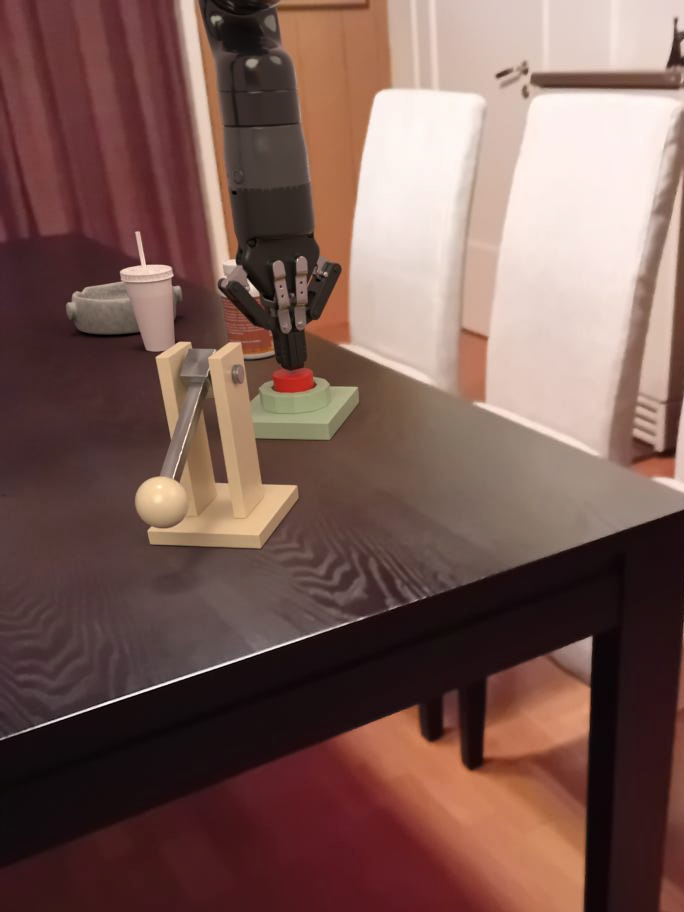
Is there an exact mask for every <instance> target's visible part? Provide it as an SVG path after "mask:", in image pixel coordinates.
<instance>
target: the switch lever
mask: <svg viewBox="0 0 684 912" xmlns="http://www.w3.org/2000/svg"><path fill="white" fill-rule="evenodd" d="M217 351H218V350H217V348H192V349H188V352H187V355H186V358H185V361H184V364H183V367H182V370H181V373H180V378H181V380H182V382H183V384H184V386H185V388H186V390H187V393H186V396H185V399H184V402H183V405H182V408H181V412H180V415H179V418H178V421H177V424H176V427H175V430H174V433H173V436H172V439H171V438H170V443H169V446H168V449H167V452H166V455H165V457H164V461H163V464H162V467H161V471H160V473H159V475H158V476H153V477H150V478H148V479H147V480H145V481H144V482H142V484H140V486H139V487H138V489H136V493H135V496H134V507H135V510H136V513H137V514H138V516H139V518H140V519H141V520H142V522H144V523H145V524H147V525H148V526H150V527H155V528H161V529H166V528H171V527H174V526H176V525H177V524H179V523H180V522H181V521H182V520H183V519H184V518H185V516H186V515H187V512H188V509H189V498H188V495H187V492H186V490H185V489H184V488H183V486H182V485H181V484H180V479H181V476H182V473H183V470H184V467H185V463H186V460H187V457H188V454H189V451H190V447H191V444H192V441H193V438H194V434H195V431H196V428H197V425H198V422H199V418H200V415H201V412H202V409H203V410H204V405H205V402H206V399H215V398H214V392H213V386H212V380H211V374H210V367H209V361H208V358H209V357H210V356H211V355H213V354H214V353H215V352H217Z"/></svg>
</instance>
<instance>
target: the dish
mask: <svg viewBox="0 0 684 912" xmlns="http://www.w3.org/2000/svg"><path fill="white" fill-rule="evenodd" d="M172 299H173V317H174V320H175V319H176V318H177V317H176V316H177V304H178V303H179V304H180V303H182V302H183V291H182V287H181V286H180V285H175V286H173V285H172ZM65 310H66V315H67V318H68V320H70V321H73V322H74V326H75V328H76V329H77V330H78V331H80V332H81V333H86V334H92V335H104V336H105V335H107V336H109V335H110V336H111V335H129V334H137V333H140V330H139V327H138V323H137V320H136V317H135V314H134V311H133V308H132V305H131V302H130V299H129V296H128V293H127V289H126V286H125V283H124V281H122V280H121V281H116V282H111V283H104V284H99V285H91V286H87V287H84V288H83V289H82V291H77V290H76V291H74V292H73V293H72V295H71V301H70V302H69V301H68V302H67V303H66V305H65Z"/></svg>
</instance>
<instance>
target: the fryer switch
mask: <svg viewBox="0 0 684 912" xmlns="http://www.w3.org/2000/svg"><path fill="white" fill-rule="evenodd" d="M188 349H193V346H192V342H191V341H178V342H177V343H175V345H174V346H172V347H171V348H169V349H167V350H165V351H162V352H161V353H160V354H158V355H157V356H155V362H156V368H157V374H158V378H159V383H160V388H161V394H162V399H163V406H164V409H165V414H166V421H167V425H168V430H169V435H170V440H171V439H172V436H173V433H174V430H175V427H176V424H177V421H178V418H179V415H180V412H181V408H182V405H183V402H184V399H185V396H186V393H187V390H186V388H185V386H184V384H183V382H182V380H181V378H180V373H181V370H182V367H183V364H184V361H185V358H186V355H187V352H188ZM208 361H209V367H210V374H211V380H212V386H213V392H214V398H213V399H214V403H215V404H214V405H215V409H216V416H217V422H218V428H219V434H220V441H221V447H222V453H223V459H224V465H225V471H226V477H227V482H216V480H215V475H214V469H213V461H212V456H211V450H210V445H209V439H208V434H207V433H208V432H207V427H206V422H205V416H204V408H203V409H202V412H201V415H200V418H199V422H198V425H197V428H196V431H195V434H194V438H193V441H192V444H191V447H190V451H189V454H188V457H187V460H186V463H185V467H184V470H183V473H182V476H181V479H180V484H181V485H182V486H183V488H184V489H185V490H186V492H187V495H188V498H189V509H188V512H187V515H186V516H185V518H184V519H183V520H182V521H181V522H180V523H179V524H177V525H176V526H174V527H171V528H166V529H161V528H155V527H152V526H150V527H149V528H148V529H147V530H146V532H147V536H148V540H149V541H148V542H149V545H155V546H156V545H158V546H159V545H160V546H180V547H181V546H182V547H184V546H185V547H208V548H211V547H212V548H233V549H236V548H237V549H262V547H264V545H265V544H266V543H267V541H268V540H269V538H270V537H271V536H272V535H273V533H274V532H275V531H276V529H277V528H278V527H279V525H280V524H281V523H282V521H283V520H284V519H285V517H286V516H287V515H288V513H289V512H290V511H291V509H292V508H293V507H294V505H295V504H296V503H297V501H298V500H299V498H300V497H299V488H298V485H297V484H295V485H294V484H265V483H263V484H262V477H261V470H260V461H259V456H258V449H257V442H256V438H255V434H254V427H253V420H252V414H251V407H250V402H251V400H250V393H249V386H248V380H247V379H248V378H247V372H246V365H245V359H243V352H242V345H241V343H240V342H229V343H228V342H227V343H226V344H225V345H224V346H222V347H220V348H219V349H218V350H217V352H215V353H214V354H213V355H211V356H210V357H209V358H208Z"/></svg>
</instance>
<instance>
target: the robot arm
mask: <svg viewBox="0 0 684 912" xmlns="http://www.w3.org/2000/svg"><path fill="white" fill-rule="evenodd" d="M282 1H283V0H197V3H198V7H199V11H200V15H201V19H202V23H203V28H204V32H205V35H206V39H207V42H208V46H209V49H210V53H211V56H212V60H213V65H214V71H215V73H214V74H215V84H216V91H217V92H216V93H217V94H216V95H217V100H218V107H219V114H220V122H221V125H222V127H221V129H222V154H223V163H224V168H225V175H226V183H227V189H228V196H229V203H230V210H231V218H232V224H233V232H234V235H235V238H236V242H237V250H236V252H235V253H236V254H235V258H234V259H235V261H236V265H237V266H236V267H235V269H234V270H233V271H232V272H231V274H230V275H229V276H228V277H227V276H226V277H222V278H220V279H218V281H217V288H218V290H219V291H221V292H222V293H223V294H224V295H225V296H226V297H227V298H228V299H229V300H230V301H231V302H232V303H233V304H234V305H235V306H236V308H237V309H238V310H239V311H240V312H241V313H242V314H243V315H244V316H245V317H246V318H247V319H248V320H249V321H250V322H251V323H252V324H253V325H254V326H256V327H261V328H264V329H266V330H270V331H271V332H272V336H273V343H274V351H275V355H274V358H275V360H276V362H277V364H278V365H280V366H281V369H286V370H289V371H292V370H297V369H301V368H305V362H307V359H308V349H307V342H306V341H307V340H306V333H305V329H306V327H307V326H308V324H310V323H311V322H312V321H318V320H320V318H321V317H322V314H323V312H324V309H325V308H326V305H327V303H328V302H329V299H330V297H331V295H332V293H333V291H334V288H335V287H336V284H337V283H338V280H339V278H340V276H341V274H342V270H343V269H342V265H341V264H339V262H335V261H334V262H333V261H330V260H329V259H328V258H326V257H325V256H324V255H322V254H321V249H320V245H319V244H318V242H317V240H316V237H315V230H316V218H315V211H314V201H313V199H314V198H313V191H312V179H311V168H310V162H309V161H310V160H309V153H308V147H307V142H306V138H305V134H304V130H303V129H304V128H303V124H302V114H301V113H302V112H301V103H300V94H299V85H298V84H299V83H298V77H297V72H296V68H295V63H294V61H293V58H292V56H291V54H290V53H289V52H288V51H287V50H286V49H285V47H284V43H283V40H282V34H281V32H282V31H281V27H280V20H279V14H278V8H277V6H278V5H279V4H280V3H281V2H282ZM247 279H248V280H249V281H250V282H251V284H252V285H253V286H254V287H255V288H256V289H257V291H258V292H259V295H260V300H261V303H262V305H263V306H264V308H265V310H264V309H263V308H262V307H261V305H260V304H259V303H258V302H257V301H256V300H255V299H254V298H253V297H252V296H251V295H250V294H249V291H250V285H249V284H248V282H247ZM221 292H220V293H221Z"/></svg>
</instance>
